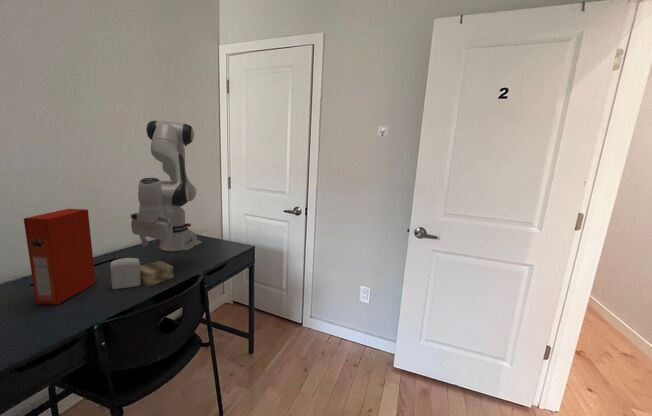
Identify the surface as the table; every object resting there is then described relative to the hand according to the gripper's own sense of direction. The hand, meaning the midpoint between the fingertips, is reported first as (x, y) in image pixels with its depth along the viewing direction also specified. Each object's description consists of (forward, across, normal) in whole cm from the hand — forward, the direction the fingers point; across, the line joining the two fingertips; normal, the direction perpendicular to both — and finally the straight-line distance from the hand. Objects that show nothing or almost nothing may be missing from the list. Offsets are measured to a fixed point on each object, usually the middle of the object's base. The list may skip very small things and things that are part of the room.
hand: (153, 246), depth 123 cm
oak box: (+15, 0, 0) cm, 16 cm away
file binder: (+15, +18, +23) cm, 33 cm away
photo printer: (+15, +4, +10) cm, 19 cm away
